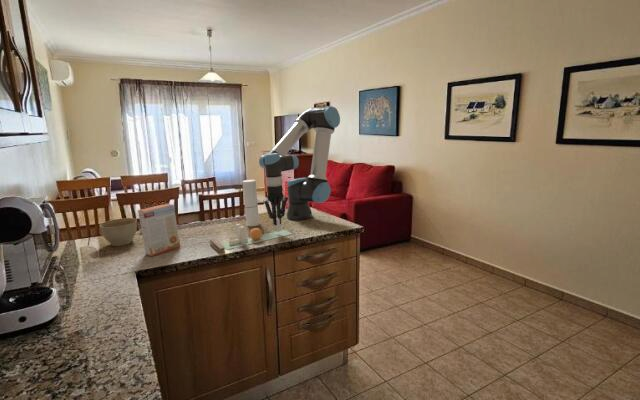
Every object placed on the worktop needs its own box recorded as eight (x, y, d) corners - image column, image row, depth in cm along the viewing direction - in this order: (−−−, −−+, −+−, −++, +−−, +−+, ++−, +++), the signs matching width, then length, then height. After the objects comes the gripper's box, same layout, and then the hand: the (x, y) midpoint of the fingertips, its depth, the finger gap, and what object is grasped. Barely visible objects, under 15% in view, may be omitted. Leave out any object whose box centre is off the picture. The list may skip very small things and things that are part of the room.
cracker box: (174, 245, 165) (168, 202, 161) (180, 247, 162) (174, 204, 157) (144, 254, 155) (137, 209, 150) (151, 257, 151) (143, 211, 147)
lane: (284, 230, 181) (284, 229, 181) (292, 234, 173) (292, 233, 173) (220, 244, 163) (220, 244, 163) (227, 249, 156) (227, 249, 156)
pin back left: (245, 243, 163) (243, 225, 162) (247, 244, 162) (245, 227, 160) (240, 244, 162) (238, 226, 160) (242, 245, 160) (240, 228, 158)
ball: (248, 239, 168) (259, 236, 171) (253, 243, 164) (264, 239, 167) (246, 228, 167) (258, 225, 170) (251, 231, 162) (263, 228, 165)
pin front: (245, 236, 166) (228, 240, 161) (247, 237, 164) (230, 241, 159) (246, 241, 166) (229, 245, 162) (248, 242, 164) (230, 246, 160)
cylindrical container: (260, 222, 197) (257, 179, 191) (257, 226, 190) (253, 181, 185) (248, 222, 198) (244, 179, 192) (244, 226, 191) (240, 182, 185)
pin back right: (241, 240, 168) (239, 223, 166) (243, 241, 166) (241, 224, 164) (236, 241, 166) (234, 224, 164) (238, 242, 164) (236, 225, 162)
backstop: (214, 243, 165) (214, 238, 164) (225, 252, 152) (224, 247, 151) (210, 244, 164) (209, 239, 163) (220, 254, 151) (220, 248, 150)
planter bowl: (98, 250, 162) (94, 228, 160) (109, 240, 177) (105, 220, 175) (136, 246, 166) (132, 224, 164) (143, 236, 181) (139, 216, 179)
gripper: (282, 182, 175) (285, 226, 180) (259, 185, 168) (263, 231, 173) (289, 184, 169) (292, 230, 174) (265, 187, 162) (269, 235, 167)
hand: (277, 230), depth 174 cm, fingers closed
